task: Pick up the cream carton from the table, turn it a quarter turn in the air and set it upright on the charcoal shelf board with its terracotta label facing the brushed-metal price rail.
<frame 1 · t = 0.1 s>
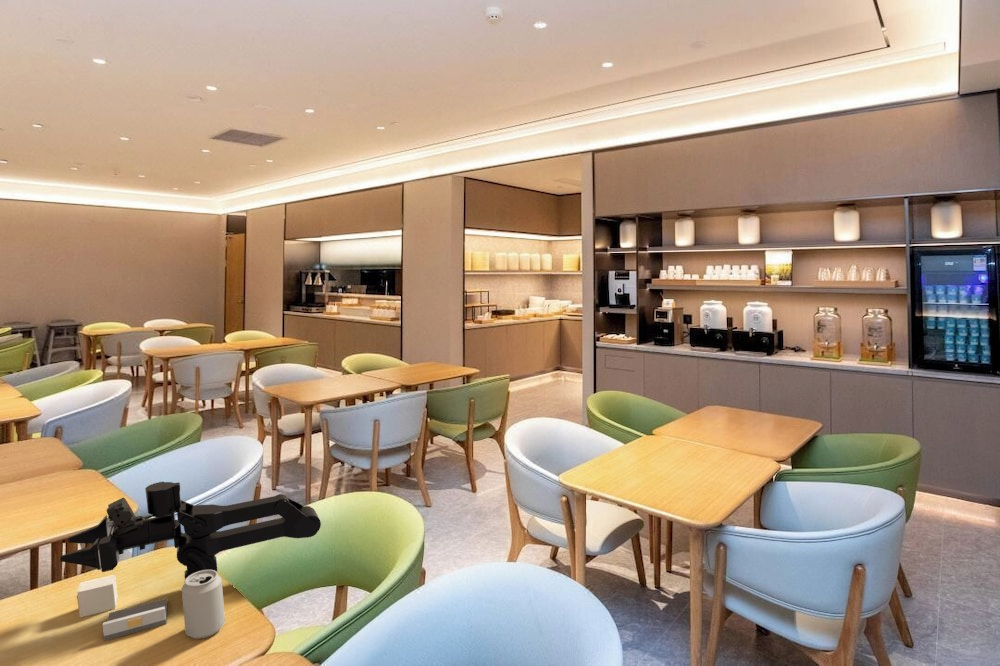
hand: (64, 549, 122), 17 cm above the table, tool horizontal, fingers open, 9 cm apart
can: (205, 630, 120), on the table
shelf board: (137, 620, 123), on the table
carton: (99, 608, 128), on the table
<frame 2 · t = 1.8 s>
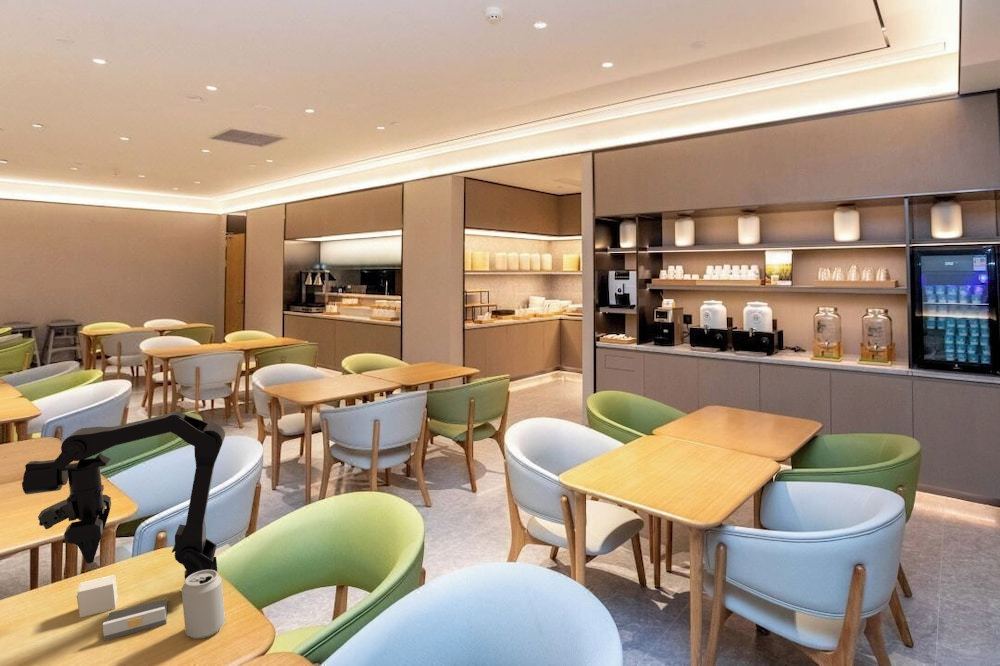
hand: (93, 553, 127), 13 cm above the table, tool pointing down, fingers open, 9 cm apart
nothing on the table moved.
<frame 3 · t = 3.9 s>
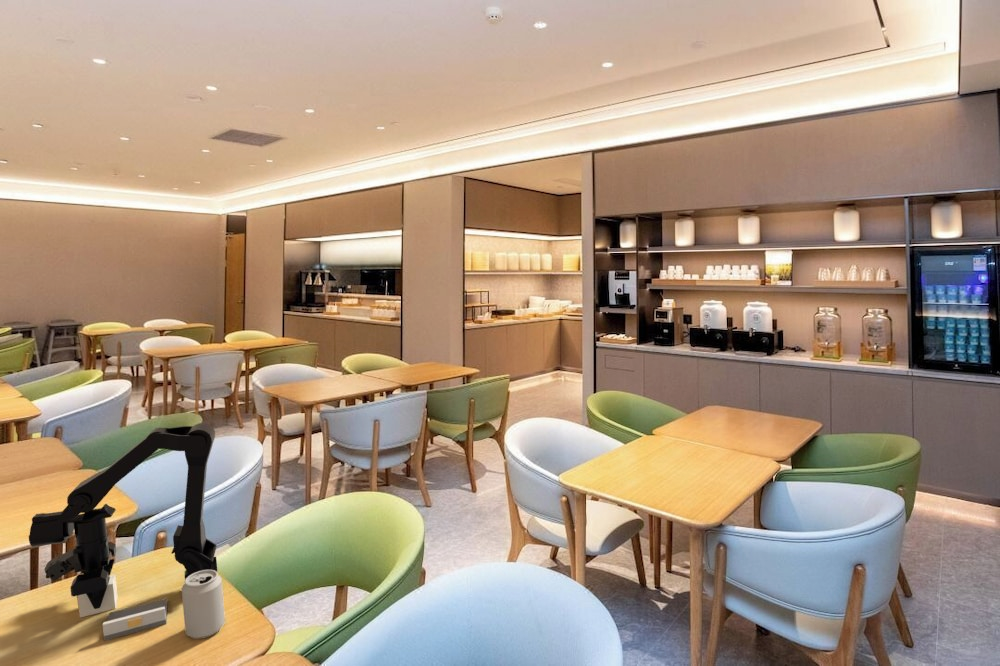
hand: (98, 602, 128), 1 cm above the table, tool pointing down, fingers closed on carton, 4 cm apart
carton: (99, 607, 128), on the table, touching gripper
everything else where it was.
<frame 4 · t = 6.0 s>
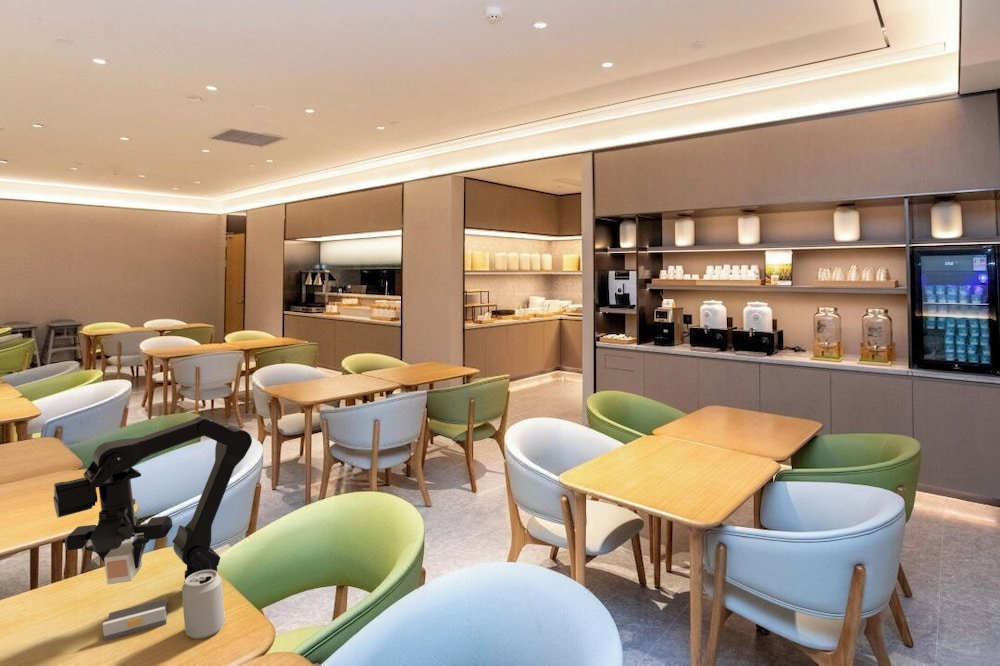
hand: (124, 569, 124), 11 cm above the table, tool pointing down, fingers closed on carton, 4 cm apart
carton: (125, 574, 124), point 10 cm above the table, touching gripper
everything else where it was.
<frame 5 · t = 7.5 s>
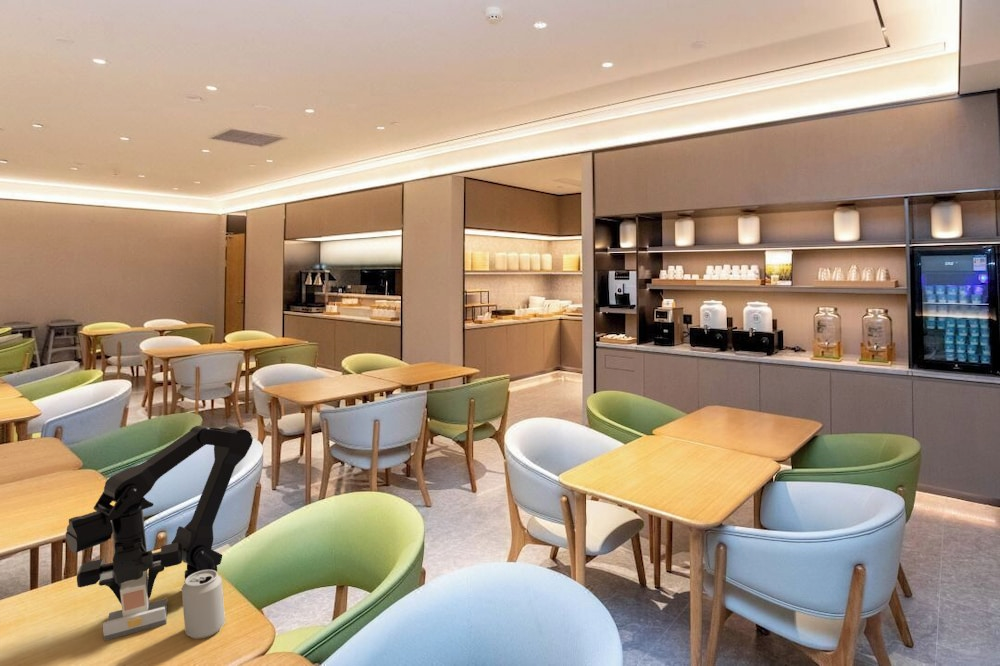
hand: (136, 600, 123), 4 cm above the table, tool pointing down, fingers closed on carton, 4 cm apart
carton: (136, 605, 124), point 3 cm above the table, touching gripper
everything else where it was.
when the fingers open (4 cm above the table, at t = 8.4 s): carton drops 1 cm, resting on shelf board.
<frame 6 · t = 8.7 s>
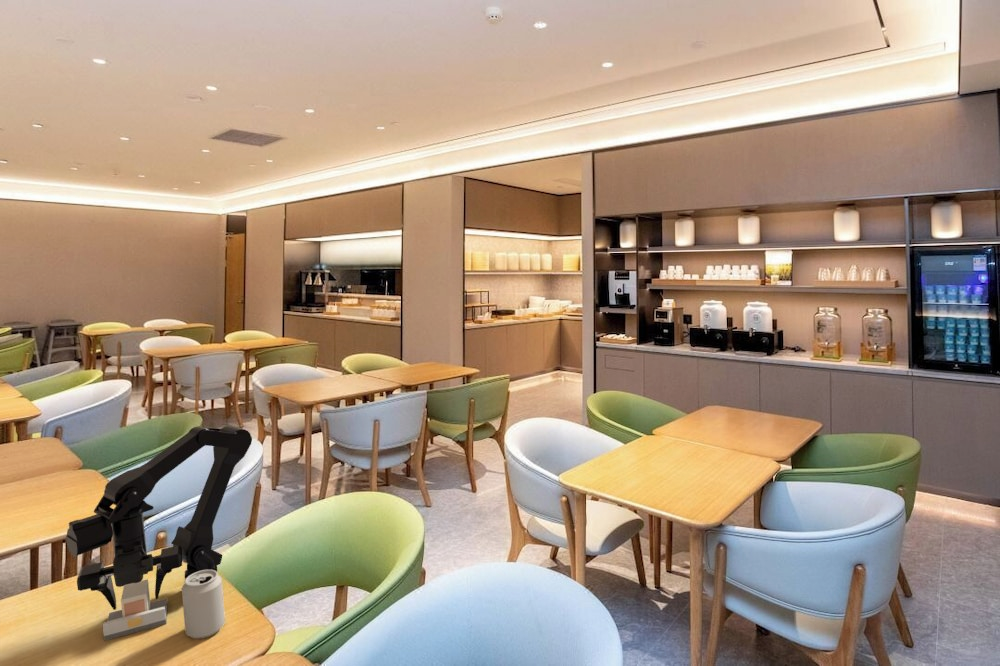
hand: (136, 603, 123), 4 cm above the table, tool pointing down, fingers open, 7 cm apart
carton: (137, 615, 124), point 1 cm above the table, touching shelf board
everything else where it was.
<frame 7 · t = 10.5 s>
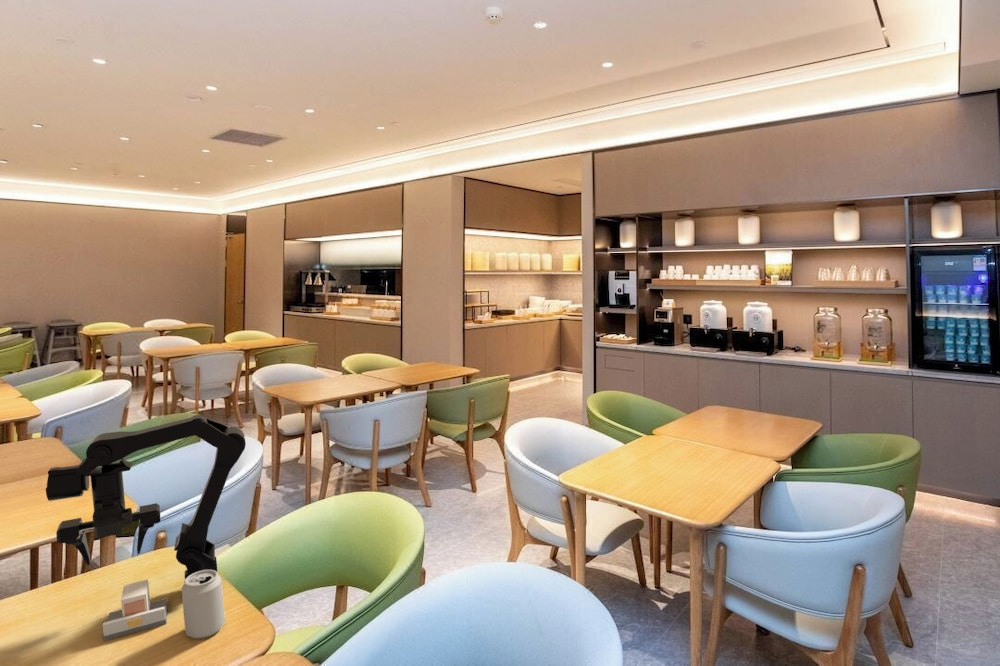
hand: (114, 558, 127), 12 cm above the table, tool pointing down, fingers open, 9 cm apart
nothing on the table moved.
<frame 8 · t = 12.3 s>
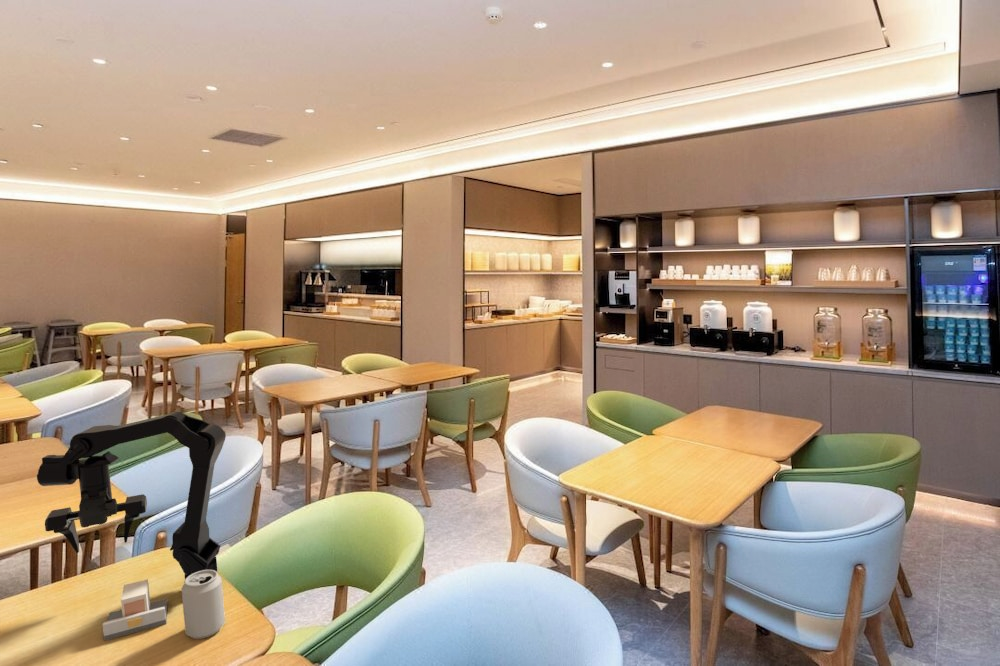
hand: (102, 546, 132), 12 cm above the table, tool pointing down, fingers open, 9 cm apart
nothing on the table moved.
at the end: carton 0.0 cm from the target spot, point 1.0 cm above the table; carton tilted 0°; the gripper is holding nothing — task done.
